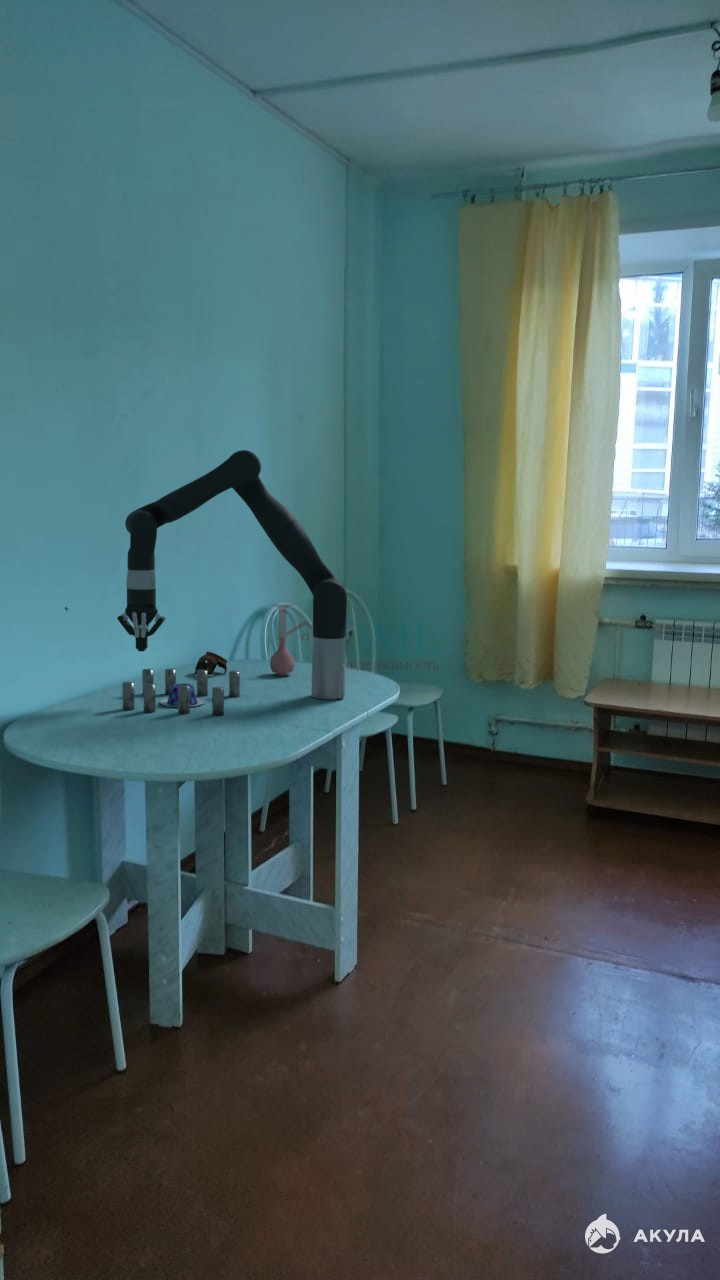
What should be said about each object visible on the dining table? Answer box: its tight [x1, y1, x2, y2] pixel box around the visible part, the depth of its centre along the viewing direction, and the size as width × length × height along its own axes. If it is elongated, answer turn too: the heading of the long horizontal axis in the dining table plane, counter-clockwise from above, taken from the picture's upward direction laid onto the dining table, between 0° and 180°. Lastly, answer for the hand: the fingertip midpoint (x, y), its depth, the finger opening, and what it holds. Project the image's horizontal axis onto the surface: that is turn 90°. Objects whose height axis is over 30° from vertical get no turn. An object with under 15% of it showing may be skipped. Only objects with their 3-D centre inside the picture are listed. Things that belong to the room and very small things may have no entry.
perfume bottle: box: [269, 636, 295, 677], centre depth 290 cm, size 8×8×12 cm
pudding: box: [159, 683, 206, 708], centre depth 249 cm, size 12×12×5 cm
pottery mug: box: [194, 651, 228, 676], centre depth 288 cm, size 12×10×8 cm
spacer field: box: [121, 668, 241, 717], centre depth 249 cm, size 27×25×7 cm
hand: (141, 650), depth 248 cm, fingers closed
